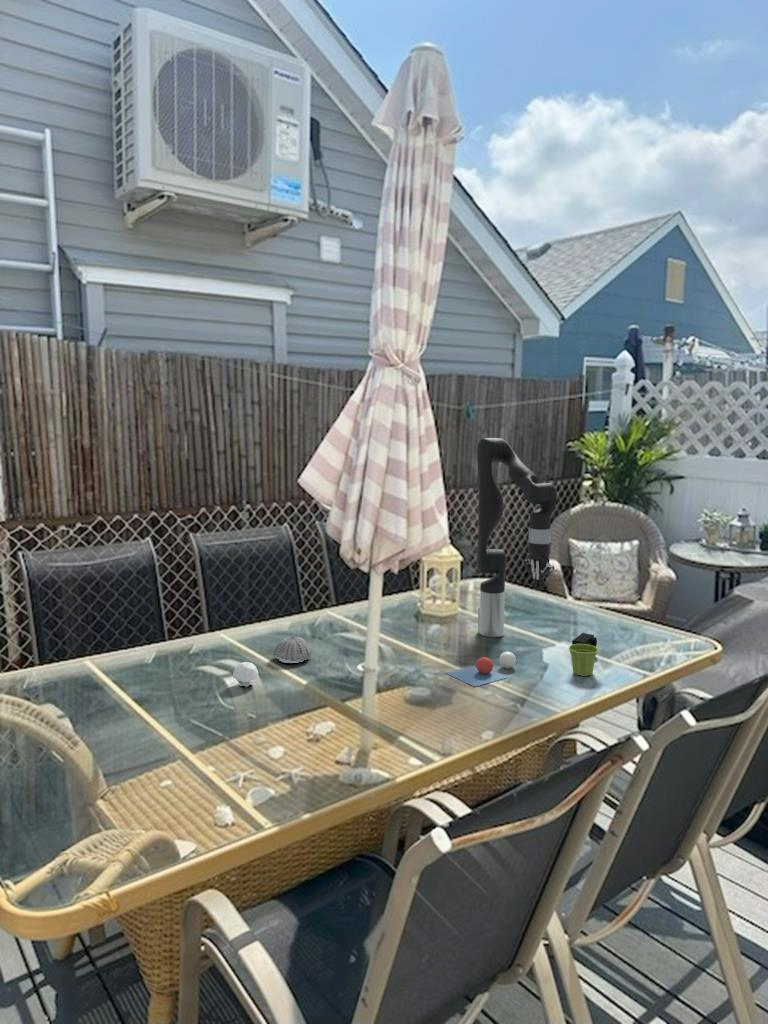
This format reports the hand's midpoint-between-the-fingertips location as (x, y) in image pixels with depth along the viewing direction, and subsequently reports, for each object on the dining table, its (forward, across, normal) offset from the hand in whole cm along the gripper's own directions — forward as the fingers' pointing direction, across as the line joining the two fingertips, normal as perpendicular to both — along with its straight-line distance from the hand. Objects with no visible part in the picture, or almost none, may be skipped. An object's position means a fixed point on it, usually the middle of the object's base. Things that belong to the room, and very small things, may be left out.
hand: (537, 589), depth 251 cm
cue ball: (+20, +6, -19) cm, 28 cm away
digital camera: (+24, +12, +11) cm, 29 cm away
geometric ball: (+23, -28, -98) cm, 105 cm away
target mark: (+23, +6, -32) cm, 40 cm away
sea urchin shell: (+24, -42, -75) cm, 89 cm away
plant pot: (+23, +23, -2) cm, 33 cm away
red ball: (+20, +5, -29) cm, 35 cm away
